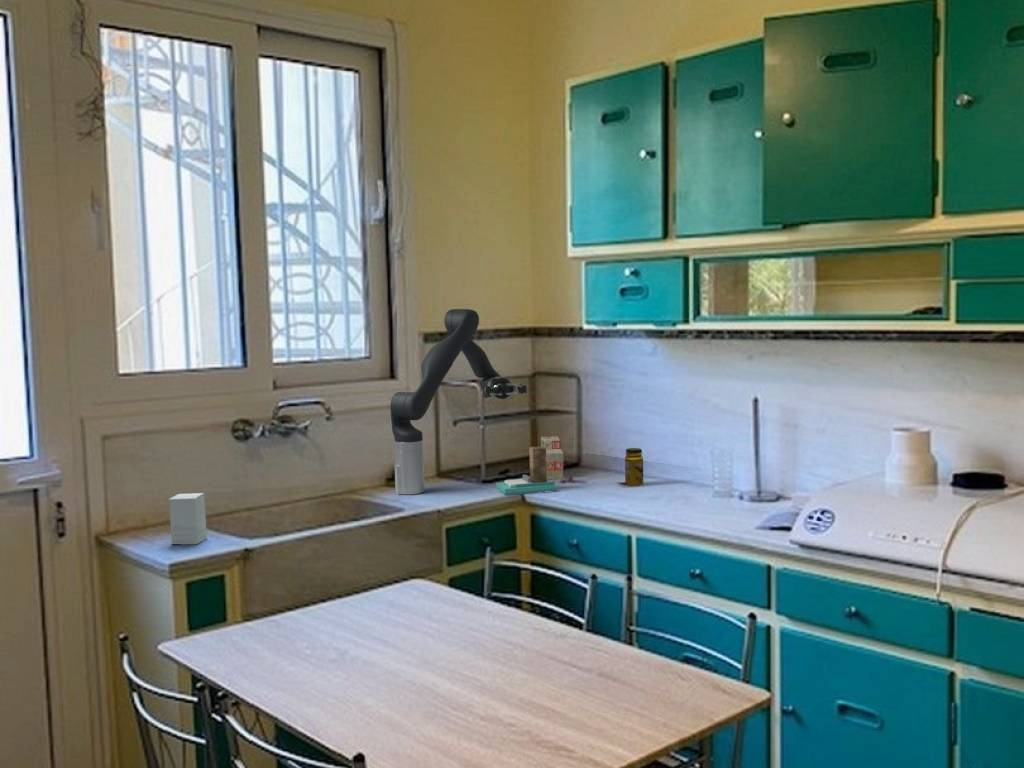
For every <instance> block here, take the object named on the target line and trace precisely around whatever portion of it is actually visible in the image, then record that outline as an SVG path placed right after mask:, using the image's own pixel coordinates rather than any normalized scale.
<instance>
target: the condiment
mask: <svg viewBox="0 0 1024 768" xmlns="http://www.w3.org/2000/svg"><path fill="white" fill-rule="evenodd" d="M624 478H625V480H624V481H623V482H621V481H619V482H618V481H617V482H616V484H618V485H619V486H620V487H624V488H626V487H645V486H647V484H645V483H644V457H643V451H642V448H639V447H638V448H637V447H629V448H626V449H625V457H624Z"/></svg>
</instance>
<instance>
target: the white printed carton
mask: <svg viewBox="0 0 1024 768" xmlns="http://www.w3.org/2000/svg"><path fill="white" fill-rule="evenodd" d="M561 441H562V440H561V439H560V438H559V436H557V435H554V436H552V435H550V436H540V444H541V445H540V446H543V447H545V448H546V467H547V480H559V479H560V480H561V479H564V452H563V450H562V447H561V446H562V444H561Z"/></svg>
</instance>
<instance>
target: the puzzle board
mask: <svg viewBox="0 0 1024 768" xmlns="http://www.w3.org/2000/svg"><path fill="white" fill-rule="evenodd" d="M516 479H517V478H512V479H511V478H510V479H508V480H516ZM521 479H523V477H522V478H521ZM495 487H496V488H497V489H498V490H497V489H496V490H497V491H499V490H500V491H501V492H502V493H501V492H500V491H499V492H500V493H501V494H502V495H503V496H516V495H527V494H539V493H538V492H543V493H546V492H545V491H556V492H557V490H556V489H557V485H556V482H555V481H549V479H547V482H542V483H528V484H516V487H510V486H509V485H507V484H506V483H505V481H503V482H496V483H495Z"/></svg>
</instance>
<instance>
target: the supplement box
mask: <svg viewBox="0 0 1024 768" xmlns="http://www.w3.org/2000/svg"><path fill="white" fill-rule="evenodd" d="M205 503H206V502H205V493H204V492H201V493H200V492H199V493H194V492H193V493H177V494H176V495H174V496H172V497H170V498H169V499H168V506H169V522H170V523H169V524H170V534H171V545H172V544H181V545H199V544H200V543H202V542H203V541H205V540H206V539H208V536H207V535H208V532H207V521H206V519H207V518H206V505H205ZM201 541H202V542H201ZM198 543H199V544H198Z"/></svg>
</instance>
